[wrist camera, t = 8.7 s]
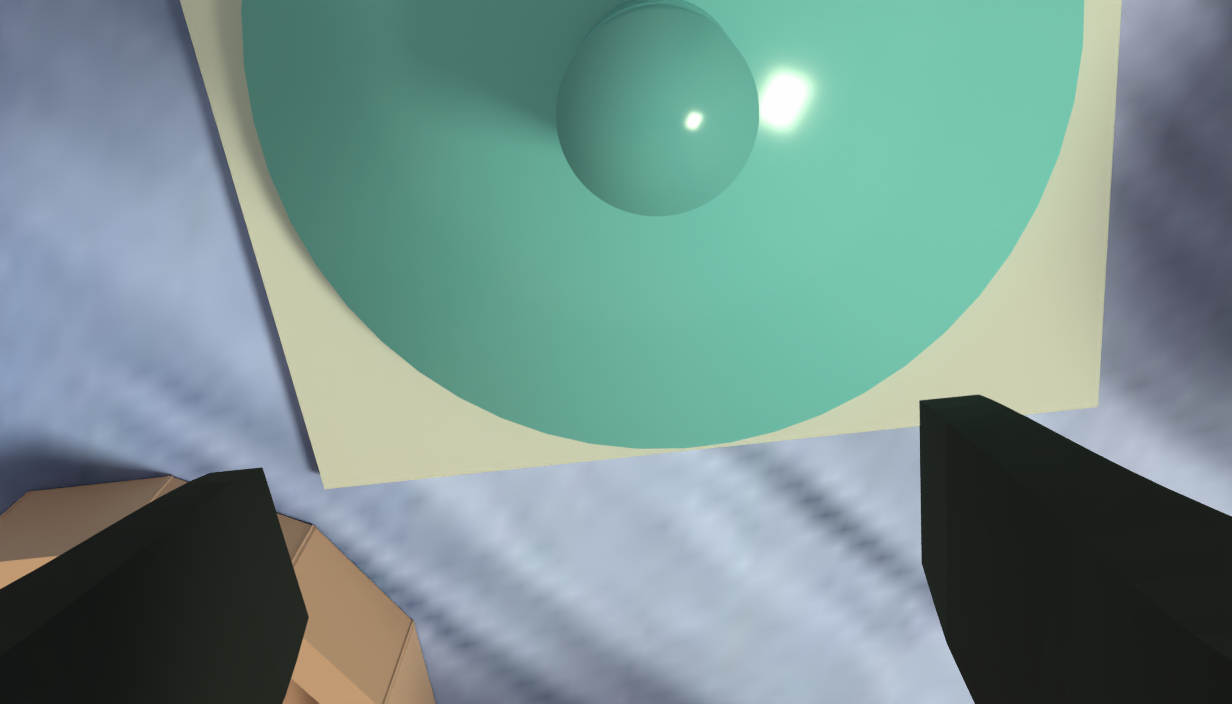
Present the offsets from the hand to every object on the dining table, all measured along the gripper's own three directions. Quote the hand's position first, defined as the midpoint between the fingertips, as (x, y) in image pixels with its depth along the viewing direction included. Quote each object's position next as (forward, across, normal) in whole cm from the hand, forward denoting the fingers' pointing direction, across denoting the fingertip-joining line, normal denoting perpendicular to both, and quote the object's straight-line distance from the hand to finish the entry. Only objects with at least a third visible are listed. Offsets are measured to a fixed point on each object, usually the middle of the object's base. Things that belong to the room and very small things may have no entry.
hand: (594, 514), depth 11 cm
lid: (+10, -1, -3) cm, 10 cm away
